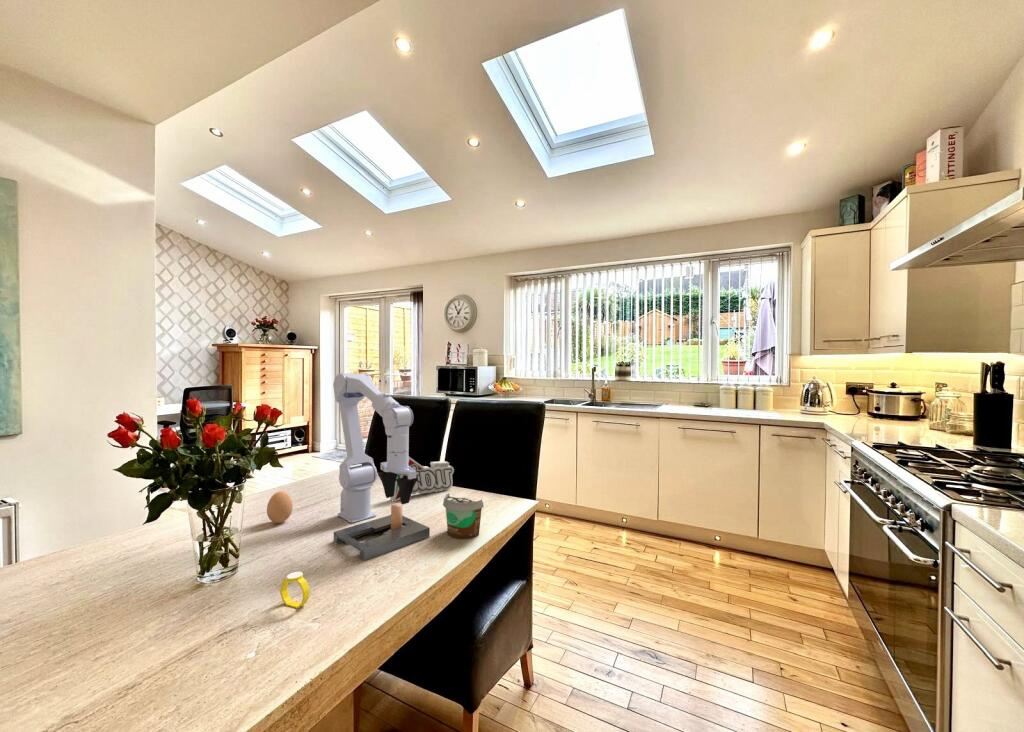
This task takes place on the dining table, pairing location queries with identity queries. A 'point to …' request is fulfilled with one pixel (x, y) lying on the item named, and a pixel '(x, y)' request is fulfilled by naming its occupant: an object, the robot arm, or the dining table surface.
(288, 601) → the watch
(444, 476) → the decorative sign
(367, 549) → the keyhole plate
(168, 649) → the dining table surface
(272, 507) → the egg
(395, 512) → the peg
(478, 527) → the food container
